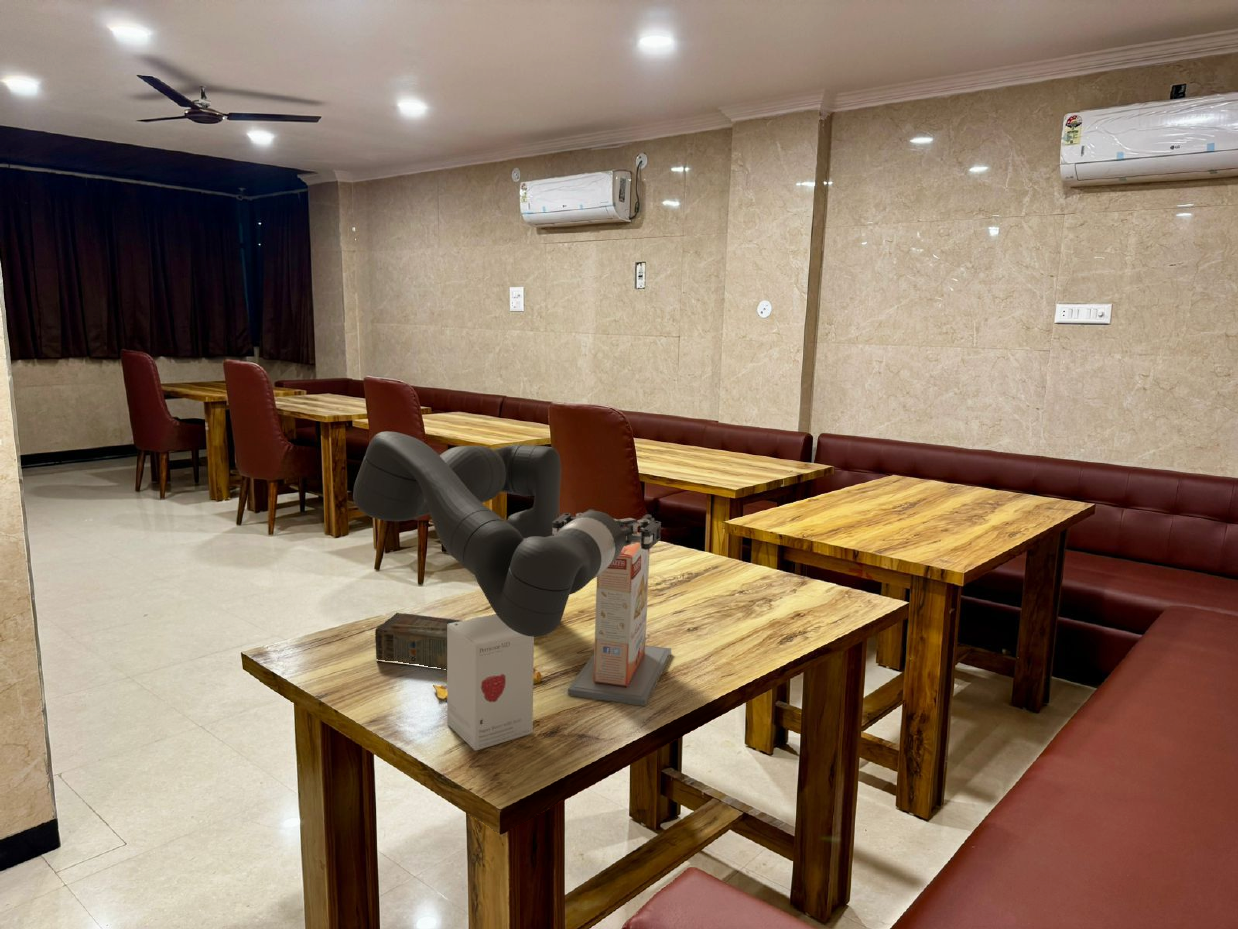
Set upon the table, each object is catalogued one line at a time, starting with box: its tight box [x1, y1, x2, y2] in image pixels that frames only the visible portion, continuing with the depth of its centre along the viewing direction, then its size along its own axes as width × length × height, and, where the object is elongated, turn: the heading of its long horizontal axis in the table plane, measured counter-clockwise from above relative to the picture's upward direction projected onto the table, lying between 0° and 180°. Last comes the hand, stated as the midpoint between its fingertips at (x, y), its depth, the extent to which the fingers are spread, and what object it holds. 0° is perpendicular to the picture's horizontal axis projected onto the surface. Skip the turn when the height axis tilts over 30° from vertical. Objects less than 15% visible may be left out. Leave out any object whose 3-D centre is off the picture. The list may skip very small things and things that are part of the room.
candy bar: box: [432, 667, 544, 700], centre depth 125 cm, size 17×4×2 cm, turn 116°
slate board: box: [567, 644, 672, 707], centre depth 131 cm, size 20×12×1 cm, turn 165°
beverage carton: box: [374, 612, 463, 671], centre depth 134 cm, size 8×19×7 cm, turn 78°
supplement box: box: [446, 613, 535, 752], centre depth 111 cm, size 9×9×15 cm
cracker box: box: [593, 542, 651, 686], centre depth 129 cm, size 14×6×21 cm, turn 167°
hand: (620, 518), depth 118 cm, fingers open, 8 cm apart
